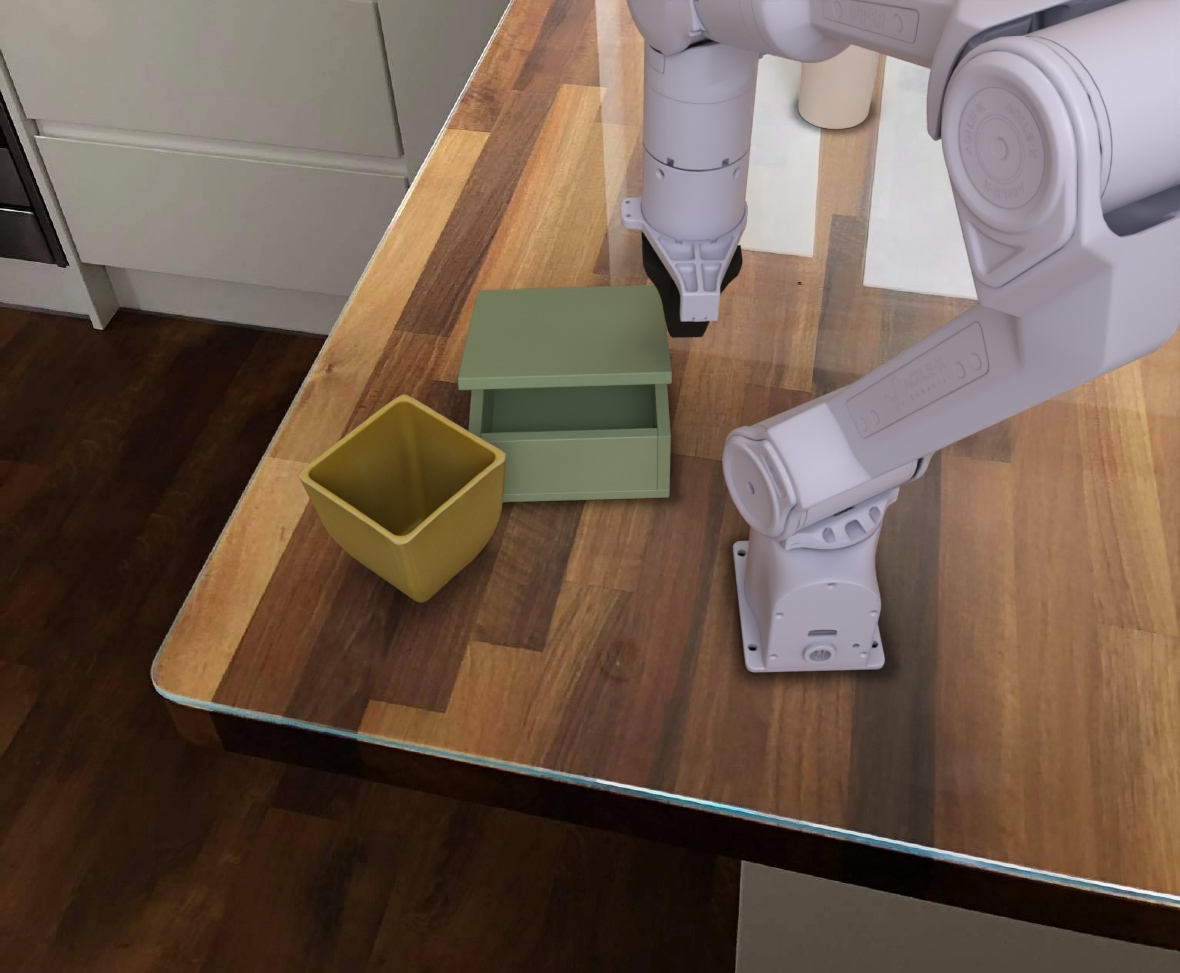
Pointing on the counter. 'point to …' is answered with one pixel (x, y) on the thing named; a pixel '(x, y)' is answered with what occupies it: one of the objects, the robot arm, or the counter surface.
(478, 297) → the bread lid
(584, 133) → the counter surface
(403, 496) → the flower pot
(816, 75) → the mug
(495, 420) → the bread box
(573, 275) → the counter surface
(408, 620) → the counter surface
